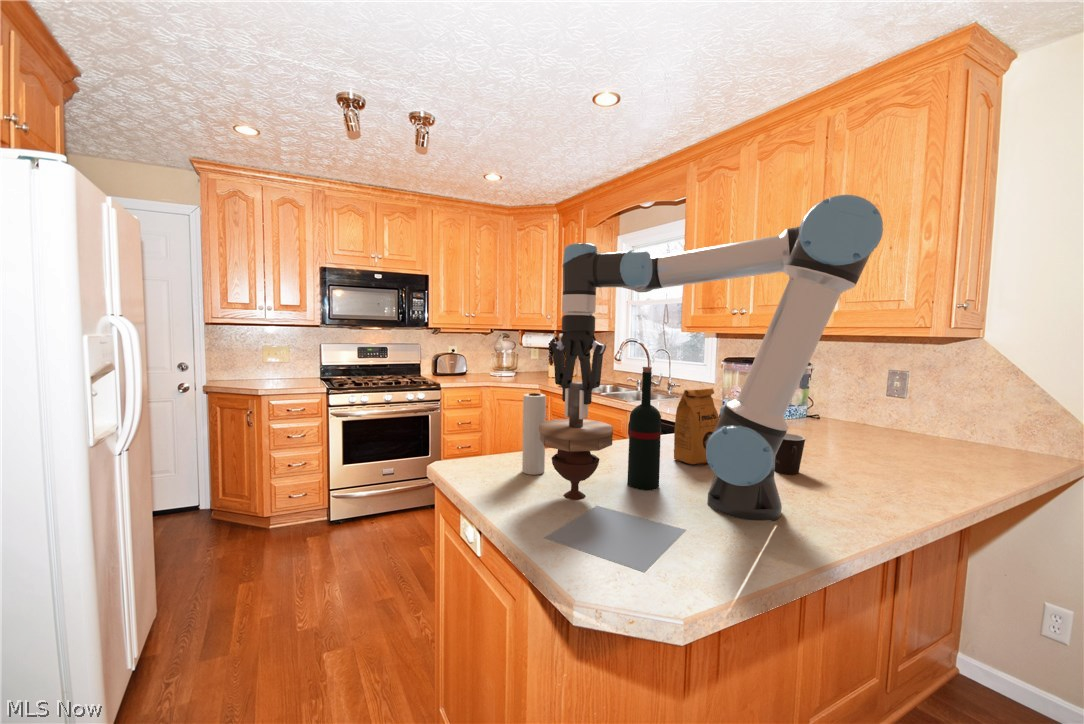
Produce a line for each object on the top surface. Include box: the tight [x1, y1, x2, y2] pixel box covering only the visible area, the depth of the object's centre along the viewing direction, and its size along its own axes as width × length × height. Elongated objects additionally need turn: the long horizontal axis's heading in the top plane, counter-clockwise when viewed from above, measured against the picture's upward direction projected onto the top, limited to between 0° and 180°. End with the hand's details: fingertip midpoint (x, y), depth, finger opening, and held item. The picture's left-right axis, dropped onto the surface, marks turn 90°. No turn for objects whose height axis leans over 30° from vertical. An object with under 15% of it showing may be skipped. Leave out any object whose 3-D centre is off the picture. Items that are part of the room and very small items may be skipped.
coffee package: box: [673, 387, 720, 465], centre depth 140 cm, size 10×12×22 cm
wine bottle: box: [626, 366, 662, 491], centre depth 119 cm, size 8×10×30 cm
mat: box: [543, 505, 687, 573], centre depth 90 cm, size 20×20×1 cm
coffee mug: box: [774, 432, 806, 476], centre depth 131 cm, size 12×9×10 cm
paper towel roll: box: [521, 392, 547, 476], centre depth 128 cm, size 7×6×21 cm
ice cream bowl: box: [551, 449, 600, 501], centre depth 109 cm, size 11×11×15 cm
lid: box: [539, 381, 614, 452], centre depth 108 cm, size 17×17×14 cm
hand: (576, 416), depth 108 cm, fingers closed on lid, 3 cm apart
